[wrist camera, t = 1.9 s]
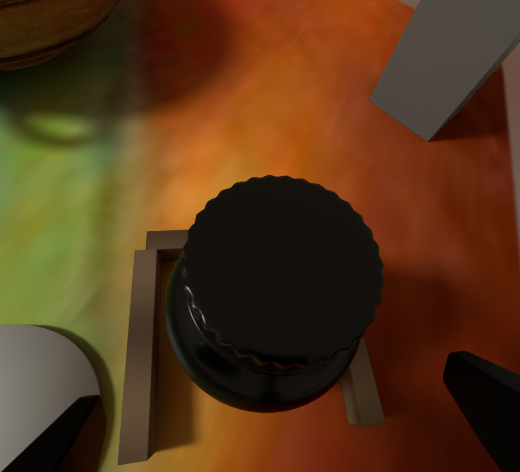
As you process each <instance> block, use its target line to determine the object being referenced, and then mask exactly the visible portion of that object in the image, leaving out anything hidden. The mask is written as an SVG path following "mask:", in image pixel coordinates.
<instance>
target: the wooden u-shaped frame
mask: <svg viewBox="0 0 520 472" xmlns="http://www.w3.org/2000/svg"><path fill="white" fill-rule="evenodd" d="M187 240H188V230H169V231H147V239H146V250H135V255H134V267H133V280H132V292H131V305H130V317H129V330H128V342H127V355H126V367H125V380H124V392H123V404H122V417H121V429H120V442H119V454H118V465H122V464H128V463H135V462H141V461H147V460H148V459H149V458H150V457H151V456H152V455H153V454H154V453H155V442H156V414H157V386H158V358H159V330H160V302H161V274H162V261H170V260H178V258H179V256H180V255H181V253H182V252H183V251H182V250H183V247H184V245H185V243H186V242H187ZM340 383H341V388H342V393H343V398H344V403H345V407H346V412H347V417H348V422H349V423H351V424H355V425H358V426H362V427H365V426H371V425H378V424H384V423H386V422H385V418H384V414H383V411H382V407H381V403H380V399H379V395H378V391H377V387H376V383H375V379H374V375H373V371H372V367H371V363H370V359H369V355H368V351H367V347H366V343H365V339H364V336H363V337H362V338H361V340H360V344H359V347H358V350H357V352H356V355H355V357H354V359H353V361H352V363H351V364H350V366H349V368H348V369H347V371H346V372H345V374H344V375H343V376H342V378H341V379H340Z"/></svg>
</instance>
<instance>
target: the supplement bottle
mask: <svg viewBox="0 0 520 472" xmlns="http://www.w3.org/2000/svg"><path fill="white" fill-rule="evenodd" d="M182 251H183V252H182V253H181V255H180V256H179V258H178V260H177V261H176V263H175V265H174V267H173V270H172V272H171V275H170V277H169V280H168V284H167V288H166V294H165V301H164V318H165V326H166V332H167V335H168V339H169V342H170V345H171V347H172V350H173V352H174V354H175V356H176V358H177V360H178V362H179V364H180V365H181V367H182V368H183V370H184V371H185V372H186V374H187V375H188V376H189V377H190V378H191V380H192V381H193V382H194V383H195V384H196V385H197V386H198V387H199V388H201V389H202V390H203V391H204V392H206V393H207V394H208V395H210V396H211V397H213V398H215V399H216V400H218V401H220V402H222V403H224V404H226V405H228V406H231V407H234V408H237V409H240V410H245V411H249V412H258V413H275V412H283V411H288V410H292V409H296V408H299V407H301V406H304V405H307V404H309V403H310V402H312V401H314V400H316V399H318V398H319V397H321V396H322V395H324V394H325V393H326V392H328V391H329V390H330V389H331V388H332V387H333V386H334V385H335V384H336V383H337V382H338V381H339V380H340V379H341V378H342V376H343V375H344V374H345V372H346V371H347V369H348V368H349V366H350V364H351V363H352V361H353V359H354V357H355V355H356V352H357V350H358V347H359V344H360V340H361V338H362V337H363V336H364V333H365V330H366V327H367V325H369V324H370V323H372V322H373V321H374V320H375V314H376V308H377V307H378V306H379V305H380V303H381V302H382V296H381V289H382V288H383V286H384V283H385V282H384V278H383V275H382V270H383V266H384V264H383V262H382V260H381V258H380V256H379V246H378V244H377V243H376V242H375V240H374V239H373V234H372V230H371V229H370V228H369V227H368V226H367V225H366V224H365V223H364V221H363V218H362V216H361V215H360V214H359V213H357V212H356V211H354V210H353V208H352V207H351V205H350V204H349V203H348V202H346V201H344V200H342V199H340V198H339V197H338V195H337V194H336V193H335V192H332V191H329V190H326V189H325V188H324V187H322V186H321V185H320V184H315V183H310V182H308V181H307V180H305V179H294V178H291V177H289V176H280V177H276V176H272V175H267V176H264V177H262V178H258V177H252V178H250V179H248V180H247V181H246V182H237V183H235V184H234V185H233V186H232V187H231V188H229V189H225V190H222V191H221V192H220V193H219V194H218V196H217V197H216V198H213V199H211V200H209V201H208V202H207V204H206V206H205V209H204V210H202V211H201V212H199V213H198V214H197V215H196V218H195V223H194V224H193V225H192V226H191V227H190V229H189V230H188V240H187V242H186V243H185V245H184V247H183V250H182Z"/></svg>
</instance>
